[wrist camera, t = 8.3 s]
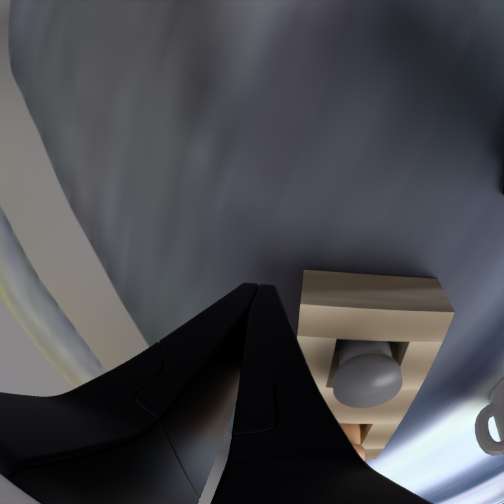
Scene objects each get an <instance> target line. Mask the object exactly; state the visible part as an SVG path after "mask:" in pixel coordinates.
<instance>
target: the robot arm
mask: <svg viewBox="0 0 504 504" xmlns="http://www.w3.org/2000/svg"><path fill="white" fill-rule="evenodd" d="M503 194H504V190H503ZM235 404H236V408H235V415H234V422H233V429H232V439H231V444H230V450H229V455H228V459H227V462H226V465H225V468H224V471H223V473H222V476H221V479H220V481H219V483H218V486H217V489H216V491H215V494H214V496H213V499H212V501H211V504H433V503H431V502H429V501H428V500H426V499H424V498H422V497H420V496H418V495H416V494H414V493H413V492H411V491H409V490H407V489H405V488H404V487H402V486H400V485H398V484H397V483H395V482H393V481H391V480H390V479H388V478H386V477H385V476H383V475H381V474H380V473H378V472H376V471H375V470H374V469H372V468H371V467H370V466H369V465H368V464H367V463H366V462H365V461H364V460H363V459H362V458H361V456H360V455H359V454H358V452H357V451H356V449H355V448H354V446H353V445H352V443H351V442H350V440H349V438H348V437H347V435H346V434H345V432H344V431H343V429H342V427H341V426H340V424H339V423H338V421H337V419H336V418H335V416H334V415H333V413H332V411H331V410H330V408H329V406H328V405H327V403H326V401H325V399H324V398H323V396H322V394H321V392H320V391H319V389H318V386H317V384H316V382H315V380H314V378H313V376H312V373H311V371H310V369H309V366H308V364H307V362H306V359H305V357H304V354H303V352H302V350H301V347H300V345H299V342H298V340H297V337H296V335H295V333H294V330H293V328H292V325H291V323H290V320H289V318H288V316H287V313H286V311H285V308H284V306H283V304H282V301H281V299H280V296H279V294H278V292H277V289H276V287H275V286H274V285H266V284H261V285H260V286H259V285H258V284H255V283H243V284H241V285H240V286H238V287H237V288H236V289H234V290H233V291H231V292H230V293H228V294H227V295H226V296H224V297H223V298H221V299H220V300H218V301H217V302H215V303H214V304H212V305H211V306H210V307H208V308H207V309H205V310H204V311H202V312H201V313H199V314H198V315H196V316H195V317H194V318H192V319H191V320H189V321H188V322H186V323H185V324H183V325H182V326H180V327H179V328H177V329H176V330H175V331H173V332H172V333H170V334H169V335H167V336H166V337H164V338H163V339H161V340H160V341H159V343H158V342H157V343H155V344H154V345H152V346H151V347H149V348H148V349H146V350H145V351H143V352H141V353H140V354H138V355H137V356H135V357H133V358H132V359H130V360H128V361H127V362H125V363H123V364H121V365H119V366H118V367H116V368H114V369H113V370H111V371H108V372H106V373H105V374H103V375H101V376H99V377H97V378H95V379H93V380H91V381H89V382H87V383H85V384H83V385H81V386H79V387H77V388H75V389H73V390H71V391H69V392H67V393H64V394H61V395H57V396H49V397H39V396H28V395H18V394H9V393H2V392H0V504H198V502H199V498H200V497H201V494H202V492H203V489H204V486H205V484H206V482H207V479H208V476H209V474H210V471H211V469H212V466H213V463H214V461H215V458H216V455H217V453H218V450H219V447H220V445H221V442H222V439H223V437H224V434H225V431H226V429H227V426H228V423H229V420H230V418H231V415H232V412H233V409H234V407H235Z"/></svg>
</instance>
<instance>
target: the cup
mask: <svg viewBox="0 0 504 504" xmlns="http://www.w3.org/2000/svg"><path fill="white" fill-rule="evenodd" d="M489 403H490V404H489V405H487V406H486V407H485V408H483V409H482V410H481V411H480V413H479V414H478V416H477V418H476V422H475V434H476V438H477V441H478V443H479V445H480V447H481V449H482V450H483V451H484V452H485V453H487V454H489V455H492V456H495V455H502V454H504V378H503V379H502V380H501V381H500V382H499V383H498V384H497V385H496V386H495V388H494V389H493V391H492V393H491V395H490V401H489ZM492 416H494V419H495V423H496V427H497V430H498V434H499V437H500V440H501V441H500V442H496V441H494V440H493V439H492V437H491V435H490V433H489V429H488V420H489V418H490V417H492Z"/></svg>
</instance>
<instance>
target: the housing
mask: <svg viewBox="0 0 504 504" xmlns="http://www.w3.org/2000/svg"><path fill="white" fill-rule="evenodd" d="M454 313H455V311H454V309H453V307H452V305H451V303H450V301H449V300H448V298H447V296H446V294H445V292H444V290H443V288H442V286H441V284H440V283H439V281H438V279H432V278H416V277H401V276H386V275H372V274H357V273H343V272H330V271H316V270H304V272H303V283H302V293H301V303H300V313H299V324H298V334H297V340H298V342H299V345H300V347H301V350H302V352H303V354H304V357H305V359H306V362H307V364H308V366H309V369H310V371H311V373H312V376H313V378H314V380H315V382H316V384H317V386H318V389H319V391H320V392H321V394H322V396H323V398H324V399H325V401H326V403H327V405H328V406H329V408H330V410H331V411H332V413H333V415H334V416H335V418H336V419H337V421H338V423H349V424H360V445H361V446H362V447H364V449H365V459H376V458H377V457H378V455H379V454H380V452H381V451H382V449H383V448H384V446H385V445H386V444H387V442H388V441H389V439H390V437H391V436H392V434H393V433H394V431H395V430H396V428H397V427H398V425H399V423H400V422H401V420H402V418H403V417H404V415H405V413H406V412H407V410H408V408H409V407H410V405H411V403H412V401H413V400H414V398H415V396H416V394H417V392H418V391H419V389H420V387H421V385H422V383H423V381H424V379H425V377H426V375H427V373H428V371H429V369H430V367H431V365H432V363H433V361H434V359H435V357H436V355H437V353H438V351H439V349H440V346H441V344H442V342H443V340H444V337H445V335H446V333H447V330H448V328H449V326H450V323H451V321H452V318H453V316H454ZM336 339H350V340H371V341H389V344H390V349H391V354H392V358H394V359H395V360H396V361H397V362H398V364H399V366H400V370H401V375H402V380H403V383H402V387H401V389H400V391H399V392H398V394H397V395H396V396H395V397H393V398H392V399H391V400H389V401H387V402H386V403H383V404H381V405H378V406H374V407H369V408H354V407H349V406H346V405H344V404H342V403H340V402H339V401H338V400H337V399H336V398H335V396H334V393H333V377H334V373H335V371H336V370H337V368H338V367H339V351H334V349H335V344H336Z"/></svg>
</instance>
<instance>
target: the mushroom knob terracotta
mask: <svg viewBox="0 0 504 504" xmlns="http://www.w3.org/2000/svg"><path fill="white" fill-rule="evenodd" d="M339 424H340V426H341V427H342V429H343V431H344V432H345V434H346V435H347V437H348V438H349V440H350V442H351V443H352V445H353V446H354V448H355V449H356V451H357V452H358V454H359V455H360V456H361V458H362V459H363V460H364V461H365V449H364V447H362V446H361V445H360V424H349V423H339Z"/></svg>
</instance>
